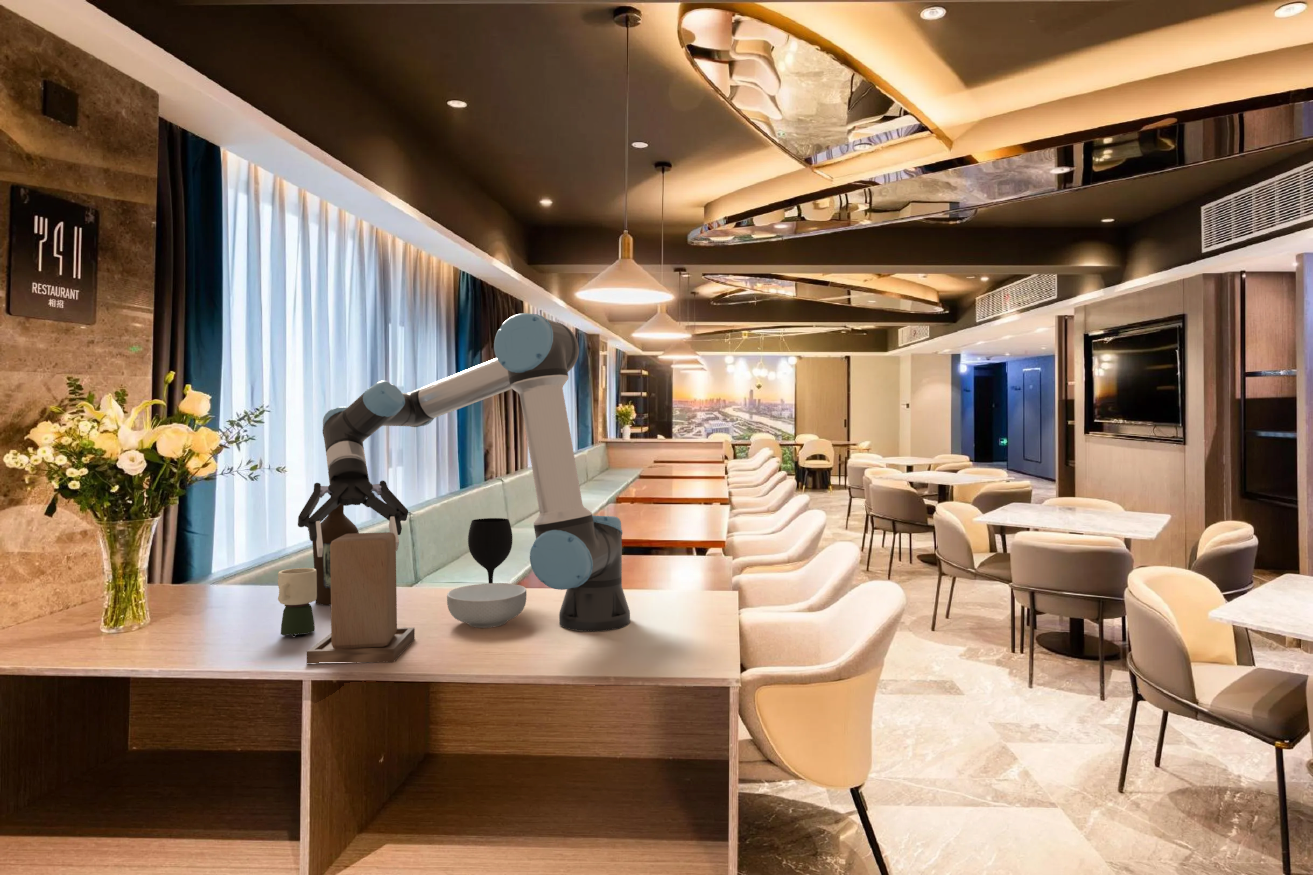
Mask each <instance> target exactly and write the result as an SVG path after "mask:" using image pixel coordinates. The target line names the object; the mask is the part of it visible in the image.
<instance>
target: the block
mask: <svg viewBox="0 0 1313 875" xmlns="http://www.w3.org/2000/svg"><path fill="white" fill-rule="evenodd" d="M396 554H397V551H396V537H395V535H394V533H391V532H390V531H389V532H386V531H385V532H359V533H353V534H345V535H343V536H341V537H339V538H337V539H335V540H333V541H332V542H331V544H330V572H331V605H330V623H331V624H330V626H331V627H330V628H331V631H330V632H331V633H330V634H331V640H332V646H333V648H334V649H357V648H374V647H385V646H387V645H388V644H389V642H390V641H391V640H392V638H393V637H394V635H395V634H396V631H397V628H398V613H397V612H398V609H397V607H398V606H397V605H398V604H397V601H398V600H397V597H398V596H397V555H396Z"/></svg>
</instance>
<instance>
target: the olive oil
mask: <svg viewBox="0 0 1313 875" xmlns="http://www.w3.org/2000/svg"><path fill="white" fill-rule="evenodd" d="M344 509H345V508H344V505H343V504H340V505H339V506H338V507H337V508H336V509H334V510H333V511H332V512H330V513H329V514H328V515H327V516H326V517H325V518H324V519H323V520H322V521H321V522H320V523H321V533H322V542H323V554H322V557H318V555H317V545H316V541H311V542H312V553H313V554H312V555H313V568H314V569H316V571H317V599H316V600H315V604H317V603H318V604H317V605H320V604H323V605H322V606H331V572H330V544H331V542H332V541H333V540H335V539H337V538H339V537H341V536H343V535H345V534H353V533H360V532H359V530H358V527H357V526H356V525H355V523H354V522H353V521H351V520H350V519H349V518H348V517H347V516H346V515H345V514H344V513H345V512H344V511H345V510H344Z"/></svg>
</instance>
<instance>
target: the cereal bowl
mask: <svg viewBox="0 0 1313 875" xmlns="http://www.w3.org/2000/svg"><path fill="white" fill-rule="evenodd" d="M526 603H527V588H526V587H525V586H523V585H521V584H516V583H503V582H502V583H501V582H498V583H497V582H493V583H489V582H488V583H478V584H470V585H465V586H460V587H457V588H456V587H455V588H454V589H451V590H449V591H448V592H447V595H446V604H447V608H448V612H449V613H450V615H451V616H452V617H453V618H454V619H455V620H457V621H458V622H461V623H465V624H468V626H470V627H472V628H478V629H479V628H480V629H481V628H482V629H484V628H485V629H487V628H488V629H489V628H497V627H501V626H503V625H505V624H507V623H508V621H510V620H512V619H514V618H516V617H518V615H520V614H521V613H522V612H523V610H524V609H525V606H526Z"/></svg>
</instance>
